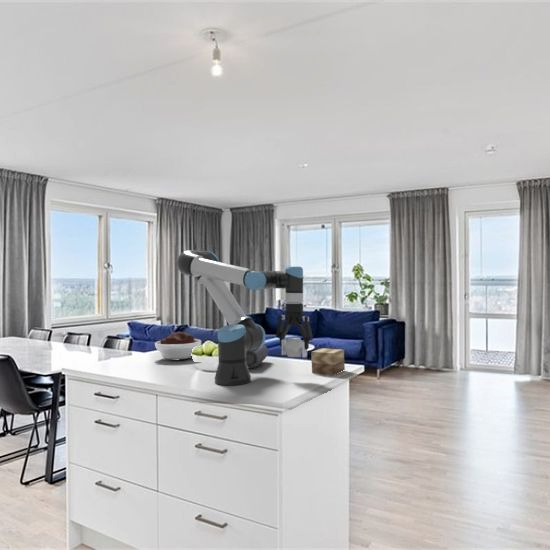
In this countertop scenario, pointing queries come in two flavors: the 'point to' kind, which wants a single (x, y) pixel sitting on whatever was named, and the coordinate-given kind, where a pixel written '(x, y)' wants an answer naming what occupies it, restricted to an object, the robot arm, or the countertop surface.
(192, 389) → the countertop surface
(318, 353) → the oak slab
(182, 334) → the white filled bowl
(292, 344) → the die
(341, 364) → the walnut slab
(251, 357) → the bluetooth speaker
